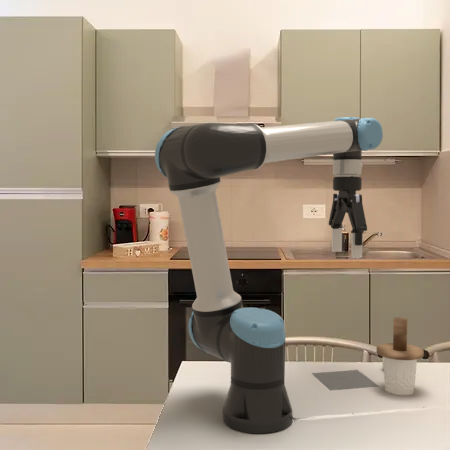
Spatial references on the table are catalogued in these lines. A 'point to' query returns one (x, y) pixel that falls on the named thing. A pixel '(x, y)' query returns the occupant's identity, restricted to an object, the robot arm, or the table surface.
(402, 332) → the walnut lid
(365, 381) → the mat
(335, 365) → the table surface
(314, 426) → the table surface
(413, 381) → the white cup
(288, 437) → the table surface
